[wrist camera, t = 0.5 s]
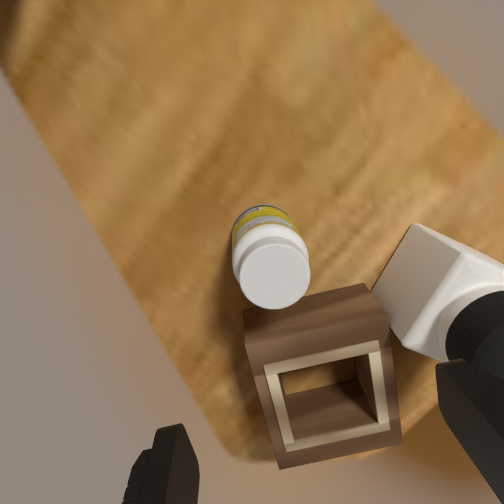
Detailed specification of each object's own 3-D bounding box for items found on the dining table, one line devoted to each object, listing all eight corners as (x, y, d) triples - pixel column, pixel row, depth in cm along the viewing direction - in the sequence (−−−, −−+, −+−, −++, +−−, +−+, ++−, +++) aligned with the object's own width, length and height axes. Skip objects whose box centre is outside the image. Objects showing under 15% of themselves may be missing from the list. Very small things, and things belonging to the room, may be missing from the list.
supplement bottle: (284, 268, 30) (302, 324, 22) (225, 255, 29) (222, 308, 21) (301, 210, 28) (328, 248, 20) (240, 195, 28) (243, 228, 20)
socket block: (243, 310, 31) (245, 347, 26) (363, 283, 30) (388, 315, 26) (273, 422, 35) (279, 472, 30) (379, 398, 35) (403, 445, 30)
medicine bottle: (365, 297, 31) (440, 402, 20) (412, 220, 29) (526, 288, 18) (436, 326, 32) (546, 440, 21) (486, 254, 30) (637, 338, 19)
